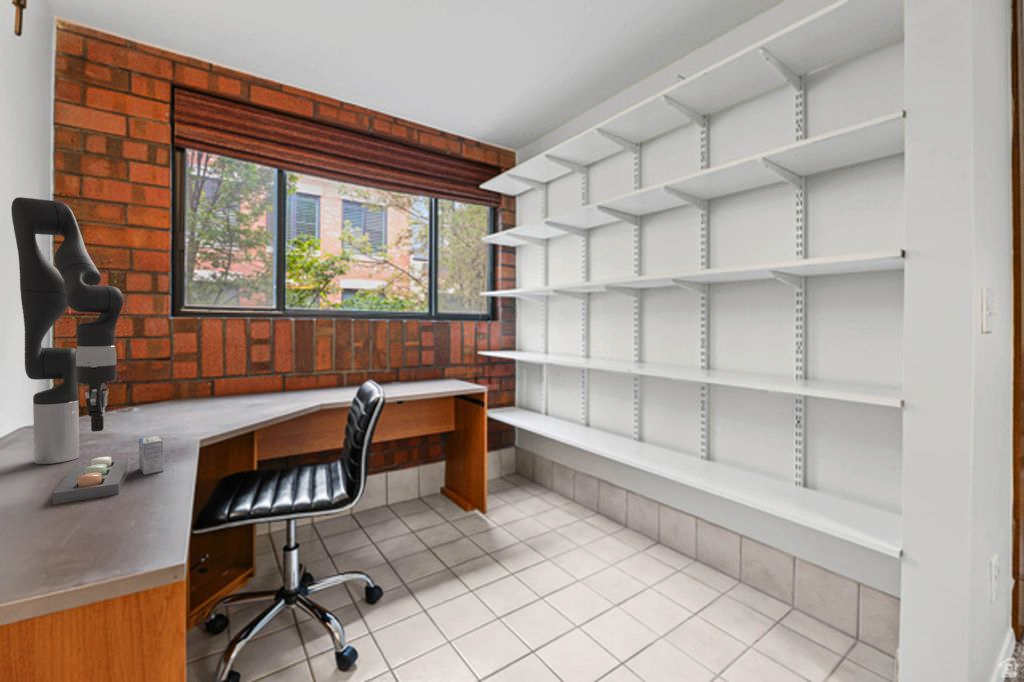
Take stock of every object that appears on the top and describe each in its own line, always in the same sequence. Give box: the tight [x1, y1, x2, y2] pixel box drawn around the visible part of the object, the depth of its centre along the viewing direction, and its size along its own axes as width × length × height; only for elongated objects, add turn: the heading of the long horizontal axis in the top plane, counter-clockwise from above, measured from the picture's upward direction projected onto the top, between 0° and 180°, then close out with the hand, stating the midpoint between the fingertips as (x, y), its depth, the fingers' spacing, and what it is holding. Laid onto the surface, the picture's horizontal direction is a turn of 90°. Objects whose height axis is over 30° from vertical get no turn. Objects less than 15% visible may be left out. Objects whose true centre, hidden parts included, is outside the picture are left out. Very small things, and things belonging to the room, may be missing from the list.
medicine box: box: [138, 435, 165, 475], centre depth 122 cm, size 8×4×9 cm, turn 47°
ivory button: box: [90, 456, 112, 467], centre depth 117 cm, size 4×4×3 cm
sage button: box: [85, 464, 107, 476], centre depth 111 cm, size 4×4×3 cm
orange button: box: [78, 473, 101, 488], centre depth 104 cm, size 4×4×3 cm
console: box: [52, 458, 131, 505], centre depth 111 cm, size 24×11×2 cm, turn 36°
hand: (97, 430), depth 112 cm, fingers closed
